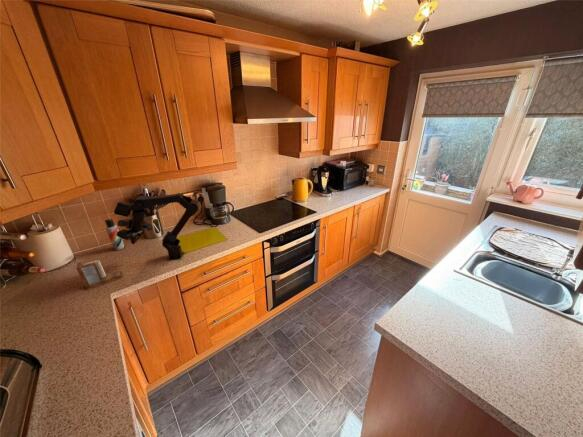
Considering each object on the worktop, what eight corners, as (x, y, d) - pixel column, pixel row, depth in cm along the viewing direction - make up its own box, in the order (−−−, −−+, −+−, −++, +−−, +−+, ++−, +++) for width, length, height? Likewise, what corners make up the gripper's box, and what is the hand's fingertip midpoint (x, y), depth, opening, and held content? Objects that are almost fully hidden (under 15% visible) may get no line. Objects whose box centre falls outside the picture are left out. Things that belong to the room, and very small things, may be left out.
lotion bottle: (112, 250, 143) (100, 222, 134) (115, 246, 148) (104, 218, 139) (122, 249, 144) (111, 220, 135) (125, 244, 149) (115, 217, 140)
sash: (105, 275, 119) (98, 259, 115) (106, 276, 119) (98, 260, 114) (91, 279, 116) (83, 263, 112) (91, 281, 115) (83, 265, 111)
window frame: (120, 272, 124) (112, 252, 118) (121, 277, 120) (112, 257, 115) (87, 283, 116) (76, 263, 111) (86, 289, 113) (76, 268, 107)
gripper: (137, 209, 132) (132, 233, 136) (108, 217, 114) (104, 244, 118) (155, 216, 132) (149, 240, 136) (129, 225, 114) (124, 252, 118)
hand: (132, 243), depth 127 cm, fingers closed
